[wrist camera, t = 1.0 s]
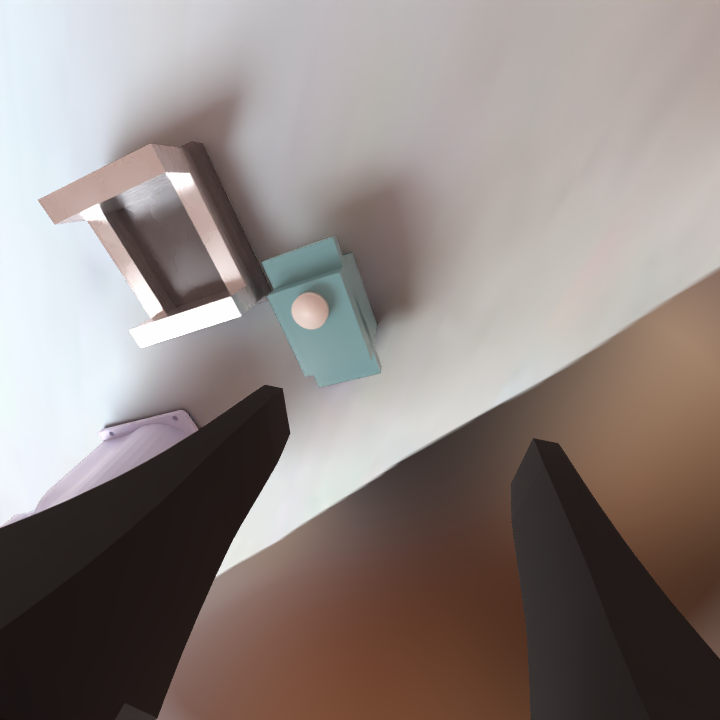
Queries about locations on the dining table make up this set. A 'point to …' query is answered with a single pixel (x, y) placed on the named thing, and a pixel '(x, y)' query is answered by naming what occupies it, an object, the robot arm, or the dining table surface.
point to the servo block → (324, 312)
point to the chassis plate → (168, 237)
